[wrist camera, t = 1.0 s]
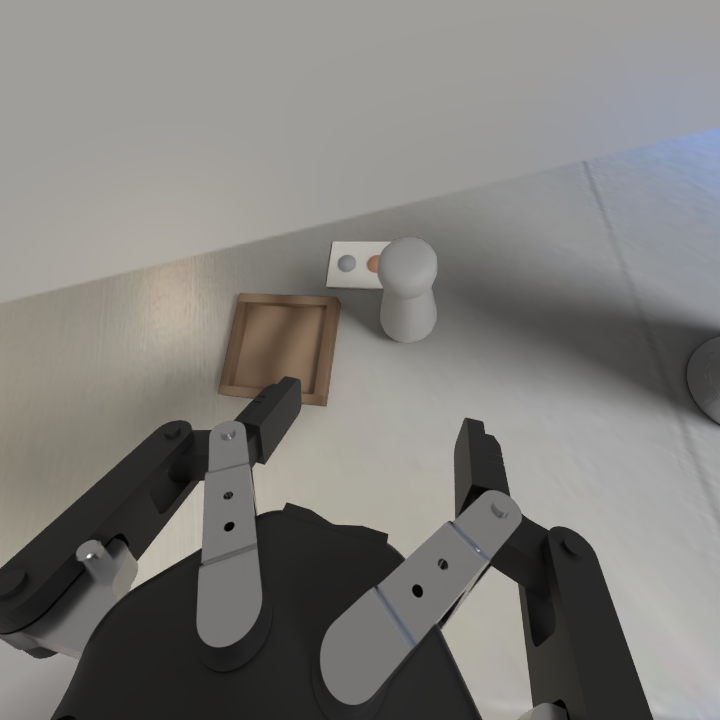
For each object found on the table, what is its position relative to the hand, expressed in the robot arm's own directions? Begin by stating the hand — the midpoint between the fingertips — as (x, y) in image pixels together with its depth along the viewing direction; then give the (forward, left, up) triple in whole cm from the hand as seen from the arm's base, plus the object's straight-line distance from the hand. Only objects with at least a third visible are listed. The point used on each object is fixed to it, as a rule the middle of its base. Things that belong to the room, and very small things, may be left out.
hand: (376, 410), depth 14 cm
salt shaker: (-1, -11, -17) cm, 20 cm away
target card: (+5, -18, -17) cm, 25 cm away
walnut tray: (+13, -7, -17) cm, 23 cm away
